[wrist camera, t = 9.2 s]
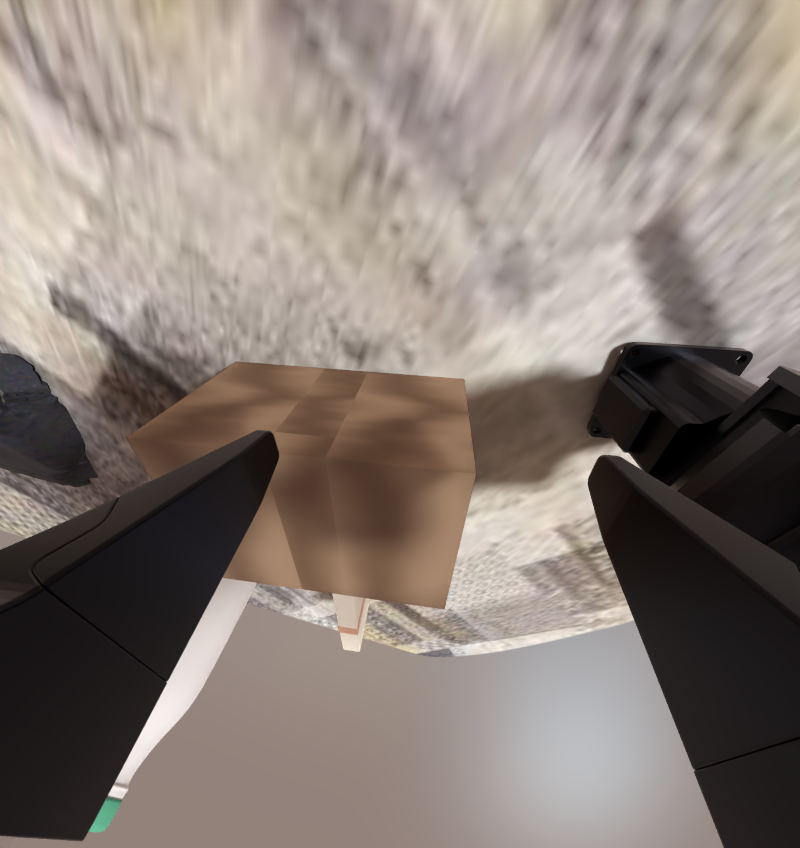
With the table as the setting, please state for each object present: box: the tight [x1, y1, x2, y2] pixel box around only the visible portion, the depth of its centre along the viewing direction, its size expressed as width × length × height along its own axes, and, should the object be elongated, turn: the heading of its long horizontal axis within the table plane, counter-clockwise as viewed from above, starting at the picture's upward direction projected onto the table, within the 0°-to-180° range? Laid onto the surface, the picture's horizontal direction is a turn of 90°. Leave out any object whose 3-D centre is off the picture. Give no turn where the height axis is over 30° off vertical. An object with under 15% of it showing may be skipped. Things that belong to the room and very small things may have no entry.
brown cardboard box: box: [126, 362, 476, 609], centre depth 20 cm, size 16×13×9 cm
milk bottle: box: [89, 578, 257, 832], centre depth 30 cm, size 8×8×20 cm
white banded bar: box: [332, 593, 370, 652], centre depth 30 cm, size 2×16×6 cm, turn 178°
